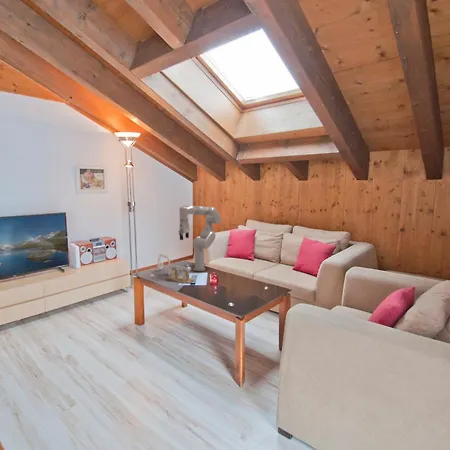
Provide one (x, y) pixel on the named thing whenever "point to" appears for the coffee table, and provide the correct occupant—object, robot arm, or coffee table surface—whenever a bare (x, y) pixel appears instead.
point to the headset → (160, 265)
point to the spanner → (180, 268)
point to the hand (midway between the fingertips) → (184, 238)
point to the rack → (178, 278)
